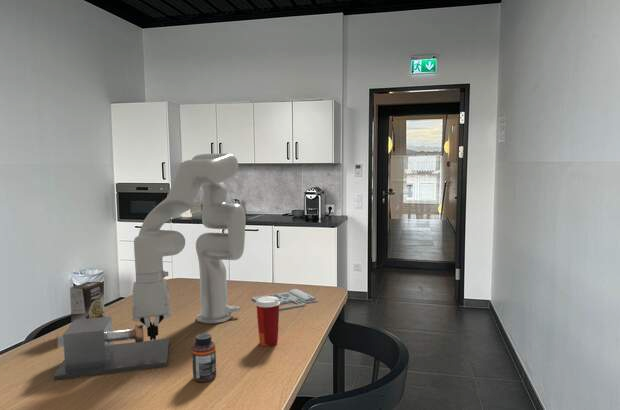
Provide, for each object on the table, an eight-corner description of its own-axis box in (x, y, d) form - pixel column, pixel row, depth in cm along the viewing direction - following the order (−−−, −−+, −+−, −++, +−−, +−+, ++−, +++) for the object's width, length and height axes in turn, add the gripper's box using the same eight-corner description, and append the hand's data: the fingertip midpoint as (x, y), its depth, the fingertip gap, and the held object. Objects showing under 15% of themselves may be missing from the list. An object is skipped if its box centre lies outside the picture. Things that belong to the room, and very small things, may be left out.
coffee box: (88, 336, 145) (85, 288, 144) (71, 335, 146) (68, 287, 145) (106, 326, 154) (104, 281, 152) (90, 325, 155) (87, 280, 154)
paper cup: (284, 339, 139) (283, 296, 138) (275, 349, 132) (274, 303, 131) (262, 337, 142) (261, 294, 141) (251, 346, 135) (250, 301, 134)
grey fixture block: (169, 342, 139) (168, 308, 138) (166, 366, 121) (165, 327, 121) (71, 353, 131) (69, 317, 131) (53, 380, 114) (51, 339, 113)
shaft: (144, 338, 130) (143, 321, 130) (142, 344, 126) (141, 327, 125) (62, 347, 125) (61, 329, 124) (57, 354, 120) (56, 336, 119)
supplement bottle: (195, 373, 117) (193, 332, 116) (217, 372, 118) (216, 331, 117) (191, 383, 111) (189, 340, 110) (214, 382, 112) (213, 339, 111)
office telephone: (300, 287, 196) (323, 297, 178) (300, 292, 196) (323, 304, 178) (251, 294, 184) (270, 306, 167) (251, 300, 184) (270, 313, 167)
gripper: (176, 271, 133) (179, 330, 134) (123, 276, 128) (127, 336, 130) (176, 277, 126) (179, 339, 127) (120, 283, 121) (124, 346, 123)
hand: (153, 338), depth 129 cm, fingers closed
